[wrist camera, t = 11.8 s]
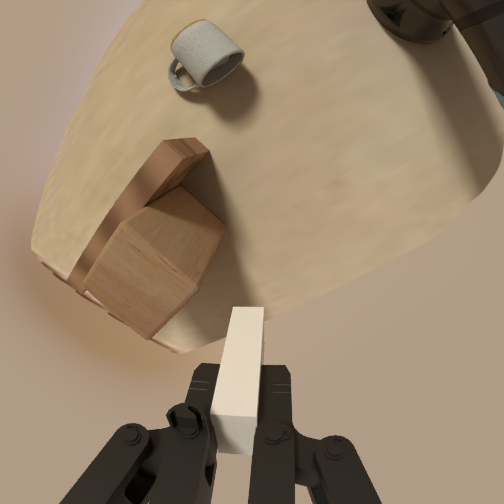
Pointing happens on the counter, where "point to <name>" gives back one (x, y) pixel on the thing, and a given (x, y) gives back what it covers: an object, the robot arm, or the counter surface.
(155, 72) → the counter surface
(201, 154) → the walnut board
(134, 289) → the wooden block
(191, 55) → the ceramic mug
